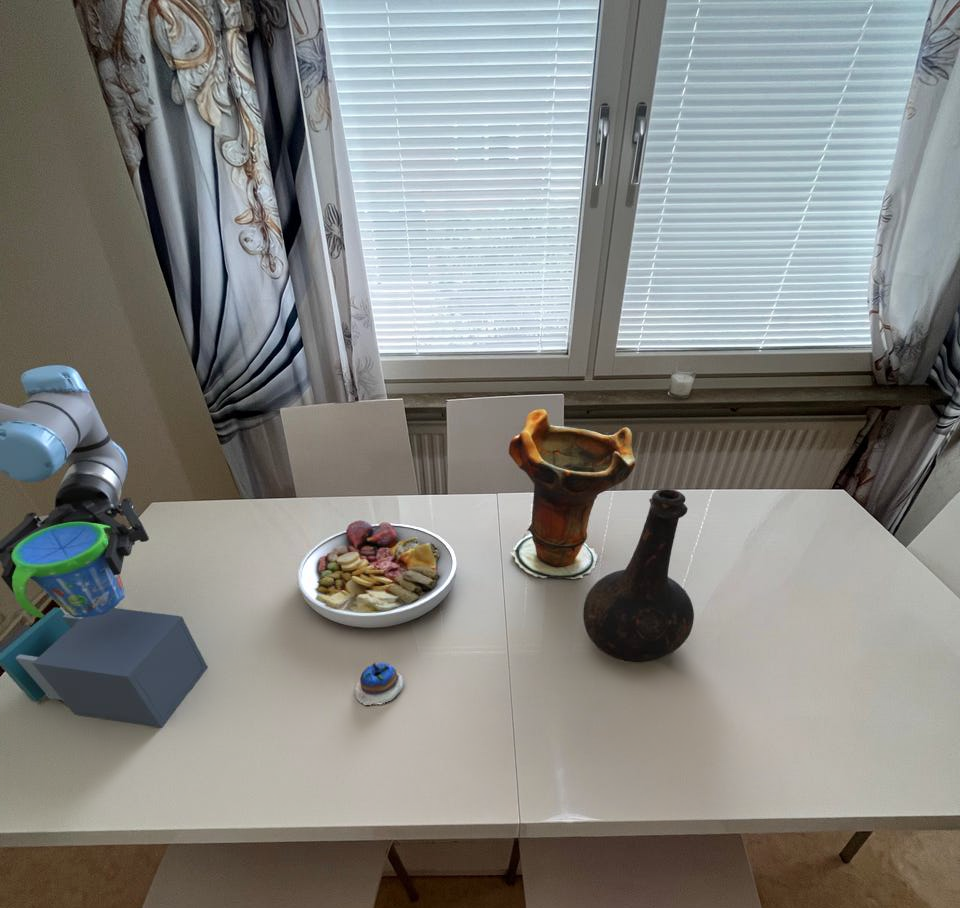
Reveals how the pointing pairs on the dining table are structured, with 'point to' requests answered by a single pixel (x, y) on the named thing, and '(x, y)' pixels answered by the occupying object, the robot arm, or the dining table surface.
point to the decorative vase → (565, 491)
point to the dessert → (378, 684)
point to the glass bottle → (643, 593)
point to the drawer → (34, 652)
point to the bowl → (377, 574)
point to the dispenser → (124, 666)
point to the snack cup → (68, 569)
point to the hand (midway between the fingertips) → (62, 575)
